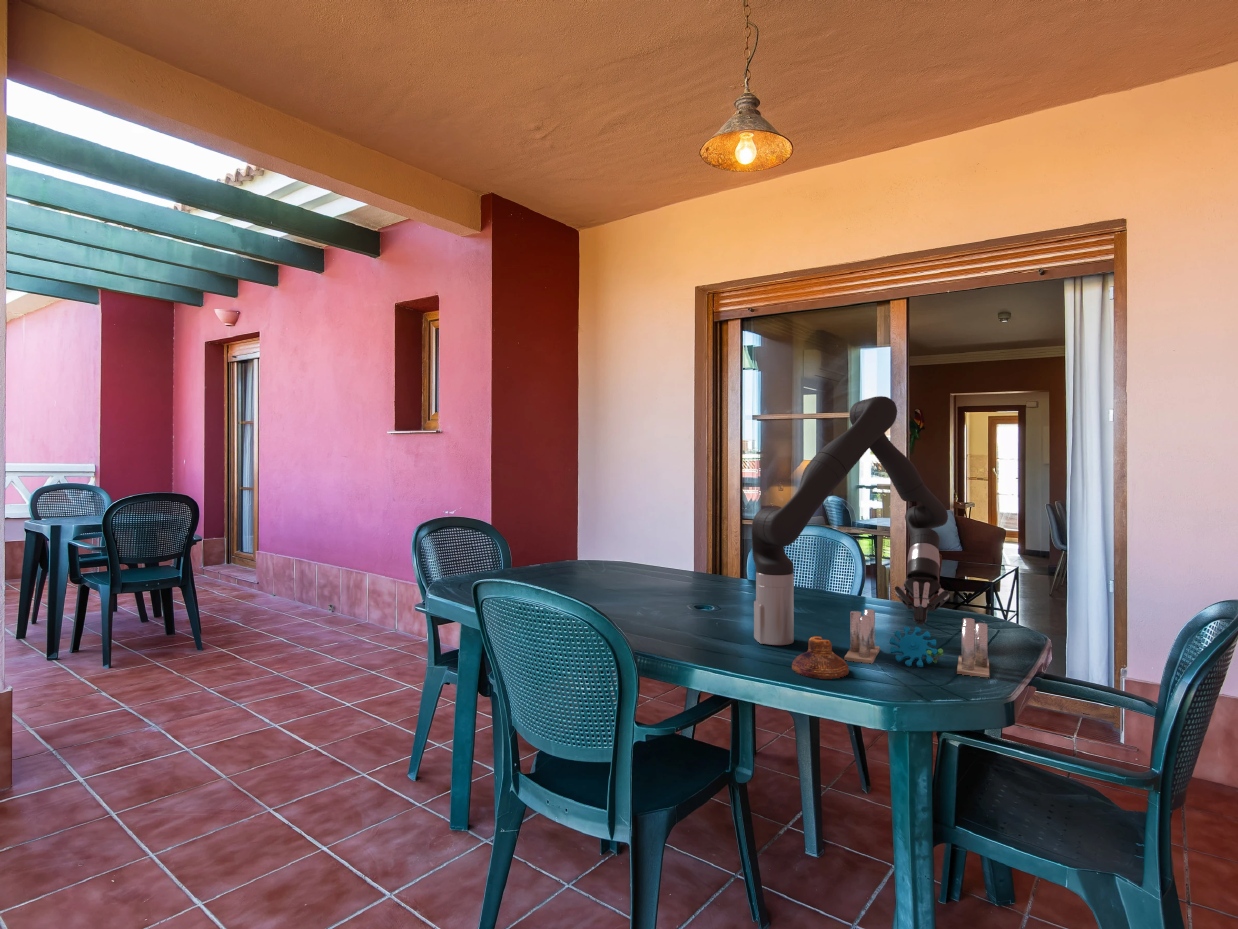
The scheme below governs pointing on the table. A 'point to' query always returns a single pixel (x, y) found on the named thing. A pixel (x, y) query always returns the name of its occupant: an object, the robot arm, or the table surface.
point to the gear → (915, 647)
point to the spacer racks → (976, 672)
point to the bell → (820, 661)
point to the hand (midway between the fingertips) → (919, 623)
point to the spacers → (971, 638)
